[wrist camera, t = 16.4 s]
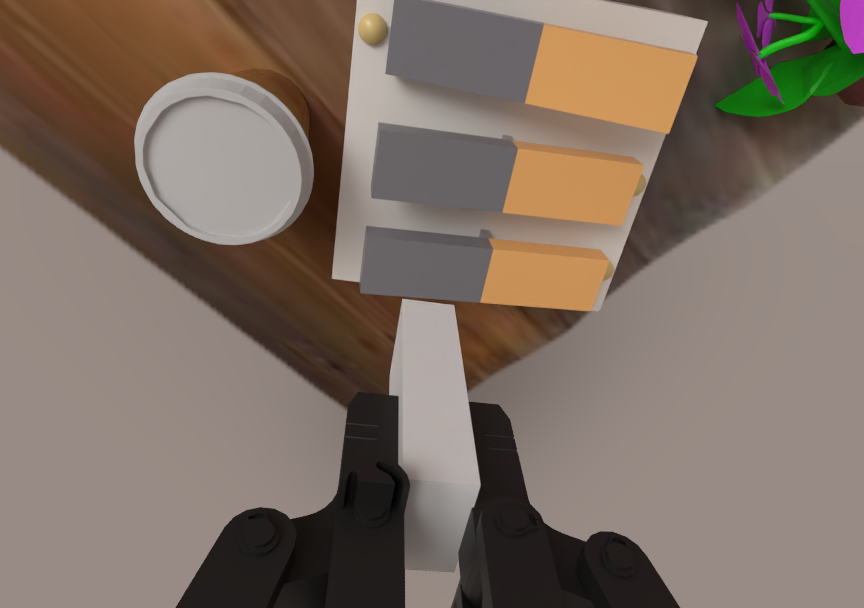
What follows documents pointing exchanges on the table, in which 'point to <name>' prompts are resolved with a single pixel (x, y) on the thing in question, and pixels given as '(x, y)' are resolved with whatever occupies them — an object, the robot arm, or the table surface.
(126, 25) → the table surface
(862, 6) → the potted plant
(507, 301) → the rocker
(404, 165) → the rocker mid
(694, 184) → the table surface
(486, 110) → the switch box
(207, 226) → the disposable coffee cup
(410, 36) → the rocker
